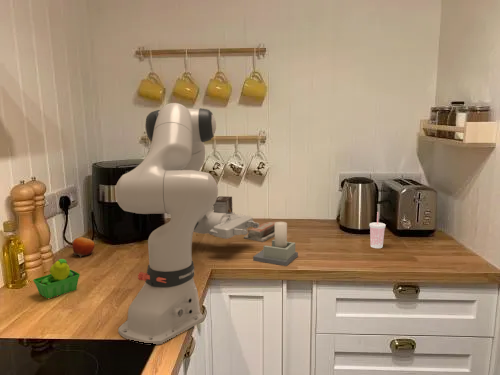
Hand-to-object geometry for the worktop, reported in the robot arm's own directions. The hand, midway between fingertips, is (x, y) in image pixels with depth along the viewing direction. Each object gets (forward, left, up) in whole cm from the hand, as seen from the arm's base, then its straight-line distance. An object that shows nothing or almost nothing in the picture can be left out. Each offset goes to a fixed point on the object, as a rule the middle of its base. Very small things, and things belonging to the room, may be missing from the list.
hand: (252, 228), depth 157 cm
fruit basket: (-55, +38, -10) cm, 68 cm away
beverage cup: (+29, -40, -10) cm, 50 cm away
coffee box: (+19, +24, -10) cm, 32 cm away
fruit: (-27, +59, -10) cm, 66 cm away
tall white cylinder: (0, -11, -9) cm, 14 cm away
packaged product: (+25, +7, -11) cm, 28 cm away
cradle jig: (0, -9, -10) cm, 14 cm away
